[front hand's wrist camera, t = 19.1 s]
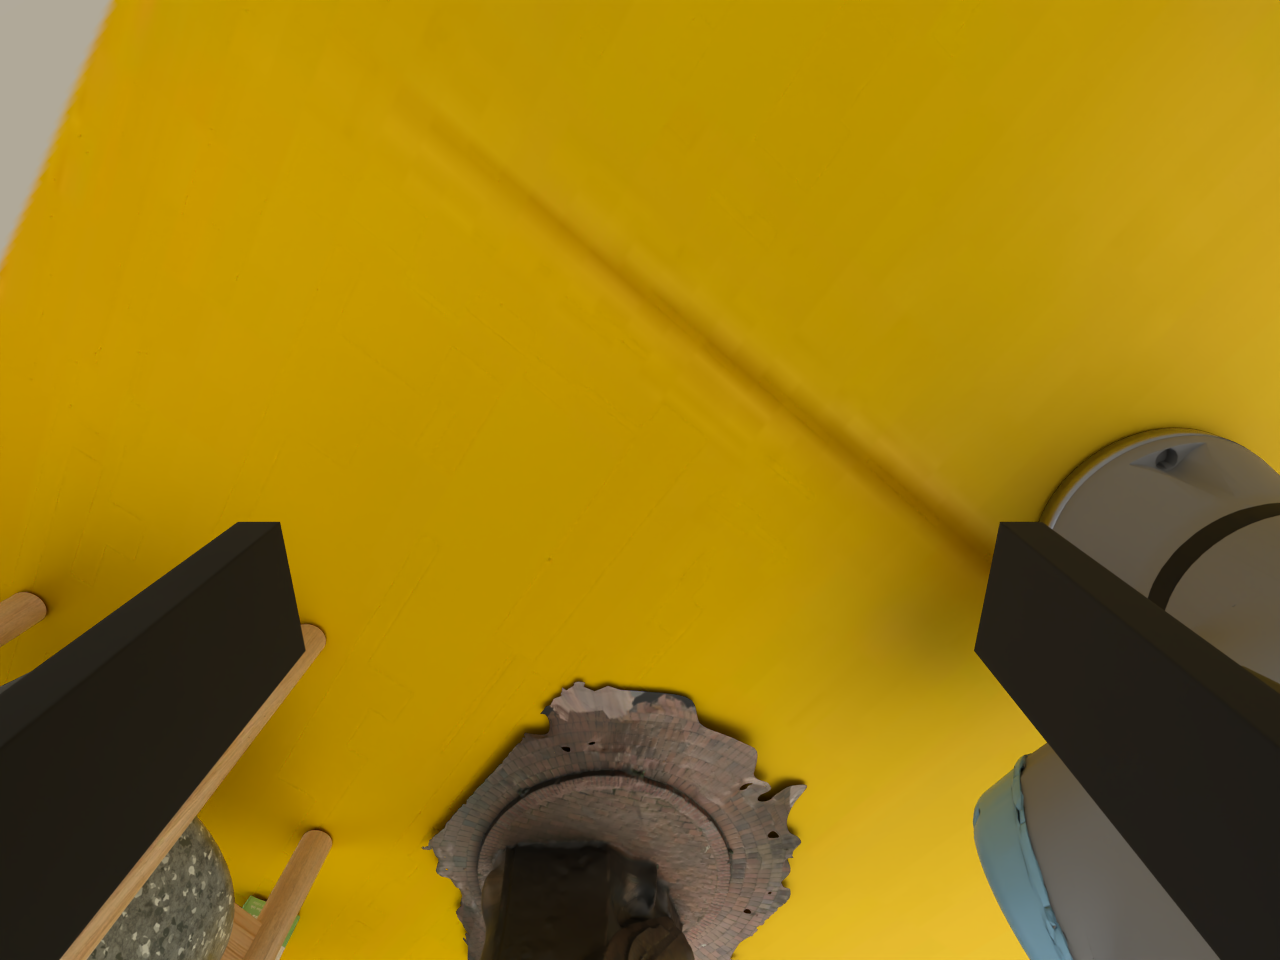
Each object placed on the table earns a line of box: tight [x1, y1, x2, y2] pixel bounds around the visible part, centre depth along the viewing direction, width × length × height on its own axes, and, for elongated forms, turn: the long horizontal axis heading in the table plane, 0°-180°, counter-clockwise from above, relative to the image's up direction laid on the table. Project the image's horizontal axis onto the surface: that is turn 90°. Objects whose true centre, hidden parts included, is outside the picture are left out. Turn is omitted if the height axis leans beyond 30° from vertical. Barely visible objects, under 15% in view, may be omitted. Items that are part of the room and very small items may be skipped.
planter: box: [0, 592, 332, 960], centre depth 37 cm, size 22×22×32 cm
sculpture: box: [422, 682, 807, 960], centre depth 50 cm, size 33×35×16 cm
